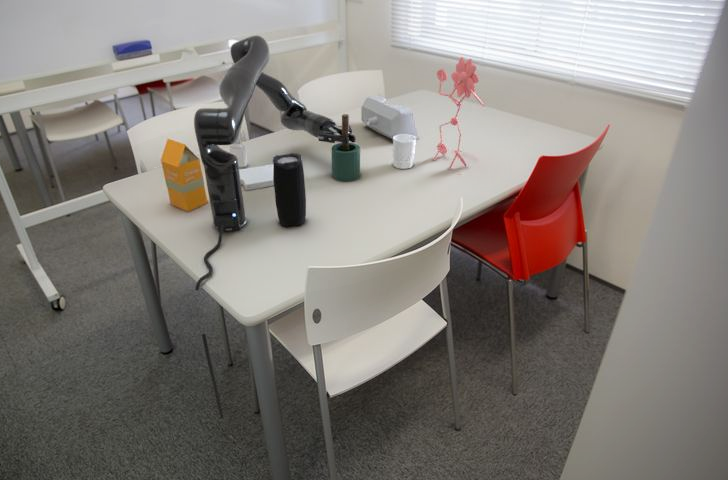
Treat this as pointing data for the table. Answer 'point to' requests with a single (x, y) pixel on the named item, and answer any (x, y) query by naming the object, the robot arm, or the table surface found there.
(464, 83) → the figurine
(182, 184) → the orange juice
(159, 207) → the table surface
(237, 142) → the eye dropper bottle
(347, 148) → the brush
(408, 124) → the tank
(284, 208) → the portable speaker
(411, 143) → the white cup
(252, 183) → the mounting plate
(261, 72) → the robot arm
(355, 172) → the green plastic pot
